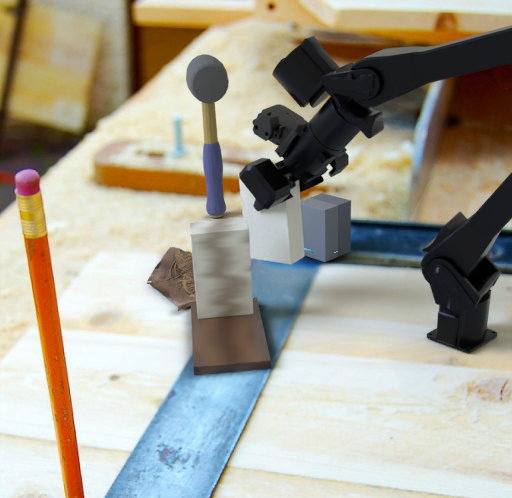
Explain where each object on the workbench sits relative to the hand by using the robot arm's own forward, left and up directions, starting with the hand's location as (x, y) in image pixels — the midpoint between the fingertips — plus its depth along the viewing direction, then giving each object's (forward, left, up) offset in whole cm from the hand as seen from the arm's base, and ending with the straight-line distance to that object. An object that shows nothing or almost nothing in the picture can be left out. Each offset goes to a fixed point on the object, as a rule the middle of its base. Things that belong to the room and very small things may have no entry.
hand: (263, 204), depth 112 cm
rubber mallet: (-19, -34, -14) cm, 41 cm away
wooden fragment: (+5, -16, -14) cm, 22 cm away
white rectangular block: (0, +2, -8) cm, 8 cm away
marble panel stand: (+14, +6, -14) cm, 21 cm away
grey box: (-17, -4, -14) cm, 23 cm away
